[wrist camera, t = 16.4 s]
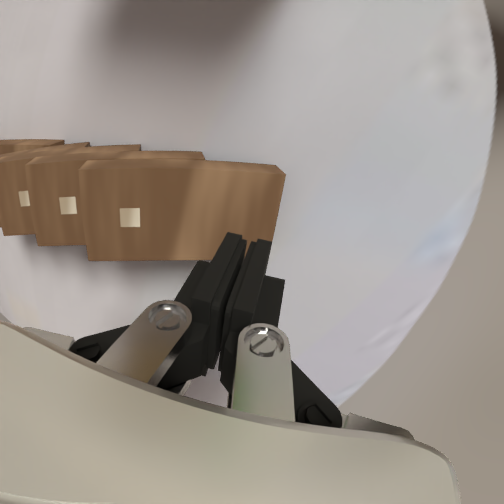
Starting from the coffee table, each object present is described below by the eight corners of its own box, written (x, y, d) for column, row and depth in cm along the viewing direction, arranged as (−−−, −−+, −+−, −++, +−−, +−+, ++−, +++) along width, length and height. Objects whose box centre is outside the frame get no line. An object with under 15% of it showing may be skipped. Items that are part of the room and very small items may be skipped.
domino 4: (260, 244, 18) (94, 245, 16) (275, 165, 16) (87, 160, 13) (268, 259, 17) (88, 261, 14) (285, 174, 14) (78, 169, 12)
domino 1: (68, 203, 20) (1, 190, 20) (64, 139, 17) (-4, 140, 18) (55, 211, 18) (-11, 197, 19) (49, 145, 16) (-17, 145, 16)
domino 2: (140, 218, 19) (12, 224, 16) (140, 144, 16) (1, 156, 13) (139, 229, 18) (3, 236, 15) (138, 150, 15) (-10, 164, 12)
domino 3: (195, 229, 19) (45, 232, 16) (201, 151, 16) (35, 157, 13) (198, 243, 17) (37, 246, 14) (204, 159, 15) (24, 165, 12)
